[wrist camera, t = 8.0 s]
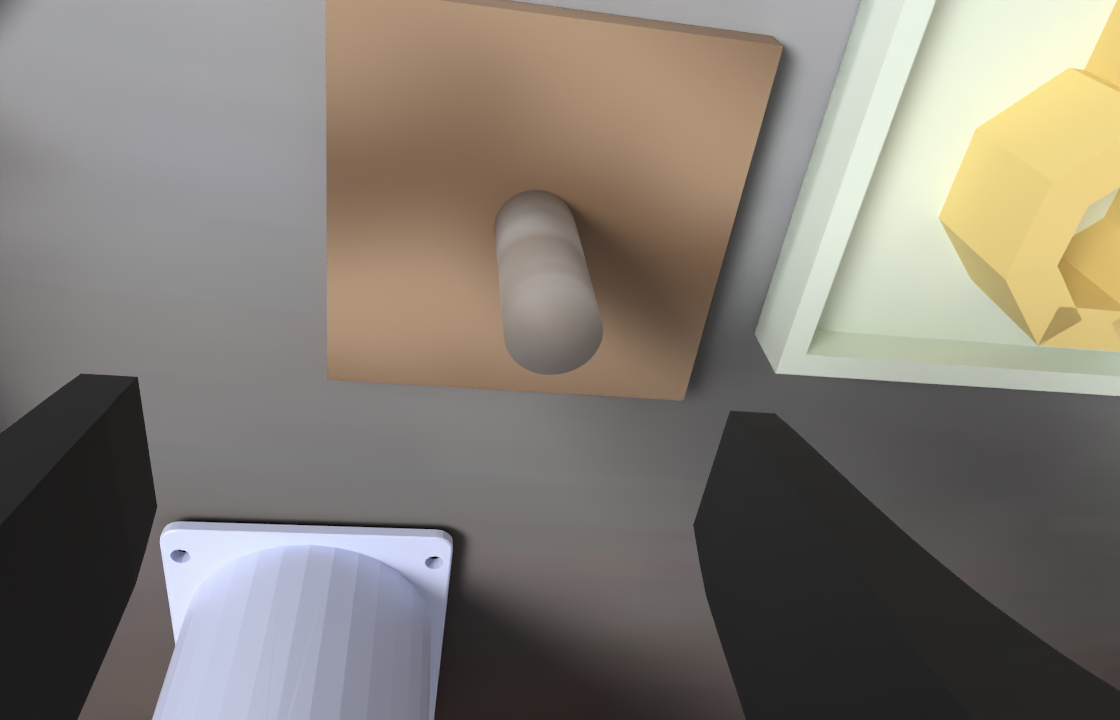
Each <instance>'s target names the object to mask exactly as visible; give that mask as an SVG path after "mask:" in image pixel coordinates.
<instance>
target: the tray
mask: <svg viewBox="0 0 1120 720" xmlns="http://www.w3.org/2000/svg"><path fill="white" fill-rule="evenodd" d="M1116 1H1117V0H861V3H860V6H859V9H858V12H857V15H856V18H855V21H854V25H853V28H852V31H851V34H850V37H849V40H848V43H847V46H846V50H845V53H844V56H843V59H842V62H841V65H840V68H839V71H838V74H837V78H836V81H835V84H834V87H833V90H832V93H831V96H830V99H829V102H828V106H827V109H826V112H825V115H824V118H823V121H822V124H821V127H820V130H819V134H818V137H817V140H816V143H815V146H814V149H813V152H812V155H811V159H810V162H809V165H808V168H807V171H806V174H805V177H804V180H803V183H802V187H801V190H800V193H799V196H798V199H797V202H796V205H795V208H794V211H793V215H792V218H791V221H790V224H789V227H788V230H787V233H786V236H785V239H784V243H783V246H782V249H781V252H780V255H779V258H778V261H777V264H776V268H775V271H774V274H773V277H772V280H771V283H770V286H769V289H768V292H767V296H766V299H765V302H764V305H763V308H762V311H761V314H760V317H759V320H758V324H757V327H756V330H755V333H754V334H755V336H756V338H757V340H758V341H759V343H760V345H761V347H762V349H763V351H764V353H765V355H766V356H767V358H768V360H769V362H770V364H771V366H772V368H773V370H774V371H775V373H776V374H792V375H807V376H822V377H837V378H852V379H868V380H883V381H898V382H913V383H929V384H944V385H959V386H974V387H990V388H1005V389H1020V390H1035V391H1050V392H1066V393H1081V394H1096V395H1111V396H1120V352H1119V351H1106V350H1092V349H1078V348H1065V347H1051V346H1038V345H1037V344H1036V343H1035V342H1034V341H1033V340H1032V339H1031V338H1030V337H1029V336H1028V335H1027V334H1026V333H1025V332H1024V331H1023V330H1022V329H1021V328H1020V327H1019V326H1018V325H1017V324H1016V323H1015V322H1014V321H1012V320H1011V319H1010V318H1009V317H1008V316H1007V315H1006V314H1005V313H1004V312H1003V311H1002V310H1001V309H1000V308H999V307H998V306H997V305H996V304H995V303H994V302H993V301H992V300H991V299H990V298H989V297H988V296H987V295H986V294H985V293H984V292H983V291H982V290H981V289H980V288H979V287H978V286H977V285H976V284H975V283H974V282H973V281H972V280H971V279H970V277H969V275H968V273H967V271H966V269H965V267H964V265H963V264H962V262H961V260H960V258H959V256H958V254H957V252H956V250H955V248H954V246H953V244H952V243H951V241H950V239H949V237H948V235H947V233H946V231H945V229H944V227H943V225H942V224H941V222H940V220H939V218H938V217H939V215H940V213H941V210H942V208H943V205H944V203H945V201H946V198H947V196H948V194H949V191H950V189H951V186H952V184H953V182H954V179H955V177H956V174H957V172H958V170H959V167H960V165H961V163H962V160H963V158H964V155H965V153H966V151H967V148H968V146H969V144H970V141H971V139H972V136H973V134H974V132H975V129H976V128H978V127H979V126H981V125H982V124H984V123H985V122H987V121H988V120H990V119H991V118H993V117H994V116H996V115H997V114H999V113H1000V112H1002V111H1004V110H1005V109H1007V108H1008V107H1010V106H1011V105H1013V104H1014V103H1016V102H1017V101H1019V100H1020V99H1022V98H1023V97H1025V96H1026V95H1028V94H1029V93H1031V92H1032V91H1034V90H1035V89H1037V88H1038V87H1040V86H1041V85H1043V84H1045V83H1046V82H1048V81H1049V80H1051V79H1052V78H1054V77H1055V76H1057V75H1058V74H1060V73H1061V72H1063V71H1064V70H1066V69H1067V68H1075V69H1083V70H1084V69H1085V67H1086V65H1087V63H1088V61H1089V58H1090V56H1091V54H1092V52H1093V50H1094V48H1095V46H1096V44H1097V41H1098V39H1099V37H1100V35H1101V33H1102V31H1103V29H1104V27H1105V25H1106V22H1107V20H1108V18H1109V16H1110V14H1111V12H1112V10H1113V8H1114V6H1115V3H1116ZM1119 188H1120V187H1119ZM1119 188H1118V189H1116V190H1115V191H1113V192H1111V193H1110V194H1108V195H1106V196H1105V197H1103V198H1101V199H1100V200H1098V201H1096V202H1095V203H1093V204H1092V205H1090V206H1088V208H1087V210H1086V212H1085V214H1084V216H1083V218H1082V219H1081V221H1080V223H1079V225H1078V227H1077V229H1076V231H1075V233H1074V235H1076V234H1077V233H1079V232H1081V231H1082V230H1084V229H1086V228H1087V227H1089V226H1091V225H1092V224H1094V223H1096V222H1097V221H1099V220H1101V219H1102V218H1104V216H1105V214H1106V213H1107V211H1108V209H1109V207H1110V205H1111V203H1112V201H1113V200H1114V198H1115V196H1116V194H1117V192H1118V190H1119ZM1074 235H1073V236H1074Z"/></svg>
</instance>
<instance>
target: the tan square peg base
mask: <svg viewBox="0 0 1120 720" xmlns="http://www.w3.org/2000/svg"><path fill="white" fill-rule="evenodd" d="M782 49H783V45H782V44H780V43H779V42H778V41H777V40H776V39H775V38H773V37H772V36H768V35H761V34H753V33H746V32H738V31H731V30H723V29H716V28H709V27H701V26H694V25H686V24H679V23H671V22H664V21H657V20H649V19H642V18H634V17H627V16H619V15H612V14H605V13H597V12H590V11H582V10H575V9H567V8H560V7H553V6H545V5H538V4H530V3H523V2H515V1H508V0H326V101H327V380H343V381H360V382H377V383H394V384H411V385H428V386H445V387H462V388H479V389H496V390H513V391H530V392H546V393H563V394H580V395H597V396H614V397H631V398H648V399H665V400H682V401H684V397H685V394H686V390H687V386H688V383H689V379H690V376H691V372H692V369H693V365H694V362H695V358H696V355H697V351H698V347H699V344H700V340H701V337H702V333H703V330H704V326H705V323H706V319H707V316H708V312H709V308H710V305H711V301H712V298H713V294H714V291H715V287H716V284H717V280H718V276H719V273H720V269H721V266H722V262H723V259H724V255H725V252H726V248H727V245H728V241H729V237H730V234H731V230H732V227H733V223H734V220H735V216H736V213H737V209H738V206H739V202H740V198H741V195H742V191H743V188H744V184H745V181H746V177H747V174H748V170H749V166H750V163H751V159H752V156H753V152H754V149H755V145H756V142H757V138H758V135H759V131H760V127H761V124H762V120H763V117H764V113H765V110H766V106H767V103H768V99H769V96H770V92H771V88H772V85H773V81H774V78H775V74H776V71H777V67H778V64H779V60H780V57H781V53H782Z"/></svg>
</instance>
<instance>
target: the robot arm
mask: <svg viewBox="0 0 1120 720" xmlns="http://www.w3.org/2000/svg"><path fill="white" fill-rule="evenodd" d="M156 509H157V503H156V496H155V490H154V483H153V476H152V470H151V463H150V456H149V450H148V443H147V436H146V430H145V423H144V416H143V410H142V403H141V396H140V390H139V383H138V377H129V376H112V375H94V374H80V375H79V376H77V377H76V378H74V379H73V380H72V381H70V382H69V383H67V384H66V385H65V386H63V387H62V388H60V389H59V390H58V391H56V392H55V393H54V394H52V395H51V396H50V397H48V398H47V399H46V400H44V401H43V402H42V403H40V404H39V405H38V406H36V407H35V408H34V409H32V410H31V411H30V412H29V413H27V414H26V415H25V416H23V417H22V418H21V419H19V420H18V421H17V422H15V423H14V424H13V425H11V426H10V427H9V428H7V429H6V430H5V431H3V432H2V433H1V434H0V720H77V719H78V717H79V715H80V712H81V710H82V708H83V705H84V703H85V701H86V699H87V696H88V694H89V692H90V689H91V687H92V685H93V682H94V680H95V678H96V676H97V673H98V671H99V669H100V666H101V664H102V662H103V659H104V657H105V655H106V653H107V650H108V648H109V646H110V643H111V641H112V639H113V636H114V634H115V632H116V629H117V627H118V625H119V622H120V620H121V618H122V615H123V613H124V610H125V608H126V606H127V603H128V601H129V599H130V596H131V594H132V591H133V589H134V587H135V584H136V581H137V577H138V574H139V571H140V567H141V564H142V560H143V557H144V554H145V550H146V547H147V543H148V539H149V535H150V532H151V528H152V524H153V520H154V517H155V513H156ZM693 526H694V532H695V538H696V544H697V550H698V556H699V562H700V567H701V572H702V577H703V582H704V587H705V592H706V597H707V600H708V603H709V606H710V610H711V613H712V616H713V619H714V622H715V625H716V629H717V632H718V635H719V638H720V641H721V644H722V647H723V651H724V654H725V657H726V660H727V663H728V666H729V669H730V672H731V675H732V678H733V681H734V684H735V687H736V690H737V693H738V696H739V699H740V702H741V705H742V708H743V711H744V714H745V717H746V720H1120V691H1119V690H1117V689H1115V688H1114V687H1112V686H1111V685H1109V684H1107V683H1106V682H1104V681H1103V680H1101V679H1100V678H1098V677H1096V676H1095V675H1093V674H1092V673H1090V672H1088V671H1087V670H1085V669H1084V668H1082V667H1081V666H1079V665H1078V664H1076V663H1075V662H1073V661H1072V660H1070V659H1069V658H1067V657H1066V656H1064V655H1063V654H1061V653H1060V652H1058V651H1057V650H1055V649H1054V648H1052V647H1051V646H1049V645H1048V644H1047V643H1045V642H1044V641H1042V640H1041V639H1040V638H1038V637H1037V636H1036V635H1034V634H1033V633H1031V632H1030V631H1029V630H1027V629H1026V628H1024V627H1023V626H1022V625H1020V624H1019V623H1018V622H1016V621H1015V620H1013V619H1012V618H1011V617H1009V616H1008V615H1006V614H1005V613H1004V612H1002V611H1001V610H1000V609H998V608H997V607H995V606H994V605H993V604H991V603H990V602H989V601H988V600H986V599H985V598H984V597H982V596H981V595H980V594H978V593H977V592H976V591H975V590H973V589H972V588H971V587H969V586H968V585H967V584H966V583H964V582H963V581H962V580H961V579H960V578H958V577H957V576H956V575H955V574H954V573H952V572H951V571H950V570H949V569H948V568H946V567H945V566H944V565H943V564H941V563H940V562H939V561H938V560H937V559H935V558H934V557H933V556H932V555H931V554H929V553H928V552H927V551H926V550H924V549H923V548H922V547H921V546H920V545H919V544H918V543H916V542H915V541H914V540H913V539H912V538H911V537H909V536H908V535H907V534H906V533H905V532H904V531H903V530H901V529H900V528H899V527H898V526H897V525H896V524H895V523H894V522H892V521H891V520H890V519H889V518H888V517H887V516H886V515H885V514H884V513H882V512H881V511H880V510H879V509H878V508H877V507H876V506H875V505H874V504H873V503H872V502H870V501H869V500H868V499H867V498H866V497H865V496H864V495H863V494H862V493H861V492H860V491H859V490H857V489H856V488H855V487H854V486H853V485H852V484H851V483H850V482H849V481H848V480H847V479H846V478H845V477H844V476H842V475H841V474H840V473H839V472H838V471H837V470H836V469H835V468H834V467H833V466H832V465H831V464H830V463H829V462H828V461H827V460H826V459H824V458H823V457H822V456H821V455H820V454H819V453H818V452H817V451H816V450H815V449H814V448H813V447H812V446H811V445H810V444H808V443H807V442H806V441H805V440H804V439H803V438H802V437H801V436H800V435H799V434H798V433H797V432H795V431H794V430H793V429H792V428H791V427H790V426H789V425H788V424H787V423H785V422H784V421H783V420H782V419H781V418H779V417H778V416H777V415H776V414H773V413H756V412H738V411H730V413H729V416H728V419H727V422H726V426H725V429H724V432H723V435H722V438H721V441H720V444H719V447H718V450H717V454H716V457H715V460H714V463H713V466H712V469H711V472H710V475H709V478H708V481H707V485H706V488H705V491H704V494H703V497H702V500H701V503H700V506H699V509H698V513H697V516H696V519H695V522H694V525H693ZM160 547H161V553H162V560H163V566H164V573H165V579H166V586H167V593H168V599H169V606H170V612H171V619H172V625H173V632H174V638H175V645H176V646H175V649H174V652H173V655H172V658H171V662H170V665H169V668H168V671H167V674H166V677H165V680H164V684H163V687H162V690H161V693H160V696H159V699H158V703H157V706H156V709H155V712H154V715H153V718H152V720H434V714H435V705H436V696H437V687H438V678H439V669H440V660H441V651H442V642H443V633H444V624H445V615H446V606H447V597H448V588H449V579H450V570H451V561H452V552H453V541H452V537H451V536H450V535H449V533H447V532H445V531H442V530H437V529H405V528H373V527H342V526H310V525H278V524H247V523H215V522H183V521H179V522H172V523H170V524H168V525H166V527H165V528H164V529H163V532H162V534H161V537H160ZM178 550H184V551H186V552H180V551H178ZM434 556H436V557H440V558H436V559H432V558H429V557H434Z"/></svg>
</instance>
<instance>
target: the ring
mask: <svg viewBox="0 0 1120 720" xmlns="http://www.w3.org/2000/svg"><path fill="white" fill-rule="evenodd" d="M1119 187H1120V0H1117V1H1116V3H1115V6H1114V8H1113V10H1112V12H1111V14H1110V16H1109V18H1108V20H1107V22H1106V25H1105V27H1104V29H1103V31H1102V33H1101V35H1100V37H1099V39H1098V41H1097V44H1096V46H1095V48H1094V50H1093V52H1092V54H1091V56H1090V58H1089V61H1088V63H1087V65H1086V67H1085V69H1084V70H1083V69H1075V68H1067V69H1066V70H1064V71H1063V72H1061V73H1060V74H1058V75H1057V76H1055V77H1054V78H1052V79H1051V80H1049V81H1048V82H1046V83H1045V84H1043V85H1041V86H1040V87H1038V88H1037V89H1035V90H1034V91H1032V92H1031V93H1029V94H1028V95H1026V96H1025V97H1023V98H1022V99H1020V100H1019V101H1017V102H1016V103H1014V104H1013V105H1011V106H1010V107H1008V108H1007V109H1005V110H1004V111H1002V112H1000V113H999V114H997V115H996V116H994V117H993V118H991V119H990V120H988V121H987V122H985V123H984V124H982V125H981V126H979V127H978V128H976V129H975V132H974V134H973V136H972V139H971V141H970V144H969V146H968V148H967V151H966V153H965V155H964V158H963V160H962V163H961V165H960V167H959V170H958V172H957V174H956V177H955V179H954V182H953V184H952V186H951V189H950V191H949V194H948V196H947V198H946V201H945V203H944V205H943V208H942V210H941V213H940V215H939V217H938V218H939V220H940V222H941V224H942V225H943V227H944V229H945V231H946V233H947V235H948V237H949V239H950V241H951V243H952V244H953V246H954V248H955V250H956V252H957V254H958V256H959V258H960V260H961V262H962V264H963V265H964V267H965V269H966V271H967V273H968V275H969V277H970V279H971V280H972V281H973V282H974V283H975V284H976V285H977V286H978V287H979V288H980V289H981V290H982V291H983V292H984V293H985V294H986V295H987V296H988V297H989V298H990V299H991V300H992V301H993V302H994V303H995V304H996V305H997V306H998V307H999V308H1000V309H1001V310H1002V311H1003V312H1004V313H1005V314H1006V315H1007V316H1008V317H1009V318H1010V319H1011V320H1012V321H1014V322H1015V323H1016V324H1017V325H1018V326H1019V327H1020V328H1021V329H1022V330H1023V331H1024V332H1025V333H1026V334H1027V335H1028V336H1029V337H1030V338H1031V339H1032V340H1033V341H1034V342H1035V343H1036V344H1037V345H1038V346H1051V347H1065V348H1078V349H1092V350H1106V351H1119V352H1120V188H1119ZM1118 188H1119V190H1118V192H1117V194H1116V196H1115V198H1114V200H1113V201H1112V203H1111V205H1110V207H1109V209H1108V211H1107V213H1106V214H1105V216H1104V218H1102V219H1101V220H1099V221H1097V222H1096V223H1094V224H1092V225H1091V226H1089V227H1087V228H1086V229H1084V230H1082V231H1081V232H1079V233H1077V234H1076V235H1074V233H1075V231H1076V229H1077V227H1078V225H1079V223H1080V221H1081V219H1082V218H1083V216H1084V214H1085V212H1086V210H1087V208H1088V206H1090V205H1092V204H1093V203H1095V202H1096V201H1098V200H1100V199H1101V198H1103V197H1105V196H1106V195H1108V194H1110V193H1111V192H1113V191H1115V190H1116V189H1118ZM1073 235H1074V236H1073Z"/></svg>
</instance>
